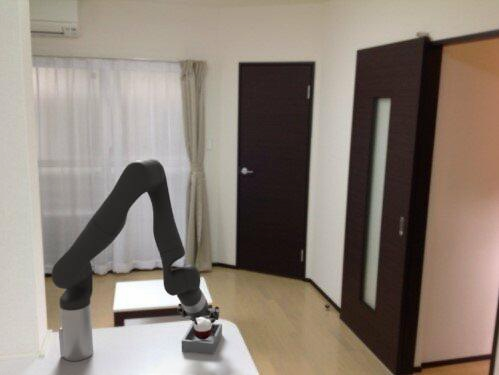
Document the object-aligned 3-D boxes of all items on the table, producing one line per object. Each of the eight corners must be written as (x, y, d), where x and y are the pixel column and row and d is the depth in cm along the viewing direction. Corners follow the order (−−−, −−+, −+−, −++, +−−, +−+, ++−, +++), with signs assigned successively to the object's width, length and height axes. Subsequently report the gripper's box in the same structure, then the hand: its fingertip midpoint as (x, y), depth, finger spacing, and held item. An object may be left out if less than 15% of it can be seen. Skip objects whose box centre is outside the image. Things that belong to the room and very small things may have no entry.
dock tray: (181, 351, 156) (181, 340, 155) (193, 332, 169) (192, 321, 168) (212, 354, 154) (212, 343, 154) (222, 334, 168) (222, 324, 167)
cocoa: (213, 332, 165) (214, 299, 163) (216, 341, 159) (217, 306, 157) (186, 334, 163) (187, 300, 161) (187, 342, 157) (188, 308, 155)
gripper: (217, 291, 149) (225, 310, 163) (174, 288, 151) (185, 307, 165) (214, 314, 145) (222, 332, 159) (169, 311, 147) (181, 328, 161)
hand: (203, 319), depth 162 cm, fingers closed on cocoa, 6 cm apart
